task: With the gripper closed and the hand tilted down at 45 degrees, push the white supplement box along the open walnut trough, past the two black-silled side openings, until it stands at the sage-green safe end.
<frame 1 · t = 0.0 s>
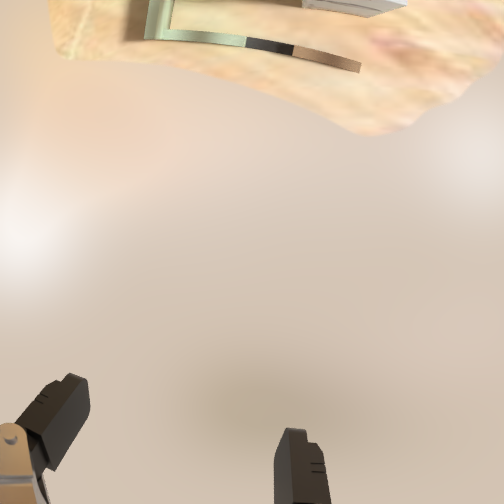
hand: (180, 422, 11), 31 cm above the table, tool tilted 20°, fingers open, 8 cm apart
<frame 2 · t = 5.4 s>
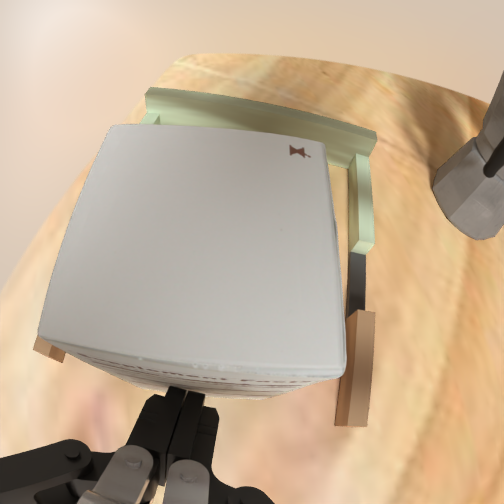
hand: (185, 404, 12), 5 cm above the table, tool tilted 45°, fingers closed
supplement box: (206, 339, 19), on the table, touching gripper
coffeepot: (460, 208, 28), on the table
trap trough: (229, 241, 22), on the table
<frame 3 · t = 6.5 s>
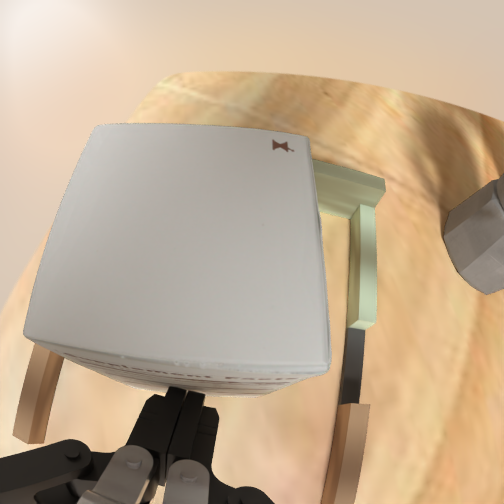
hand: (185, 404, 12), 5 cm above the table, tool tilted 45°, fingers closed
supplement box: (199, 338, 19), on the table, touching gripper
coffeepot: (472, 257, 25), on the table
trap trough: (212, 318, 19), on the table
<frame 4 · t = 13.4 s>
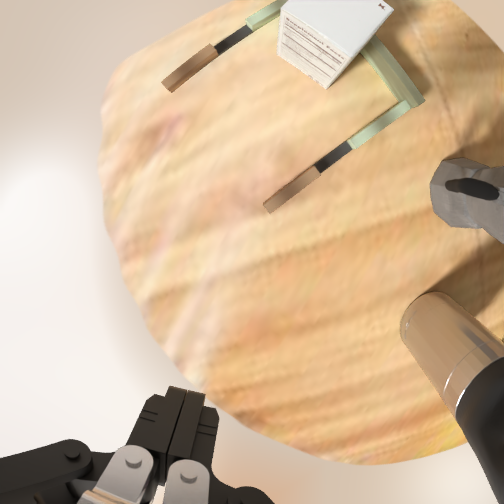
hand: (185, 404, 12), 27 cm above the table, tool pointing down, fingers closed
supplement box: (317, 52, 32), on the table
coffeepot: (449, 189, 35), on the table
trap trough: (292, 87, 33), on the table
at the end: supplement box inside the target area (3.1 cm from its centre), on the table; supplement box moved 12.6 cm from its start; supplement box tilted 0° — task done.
